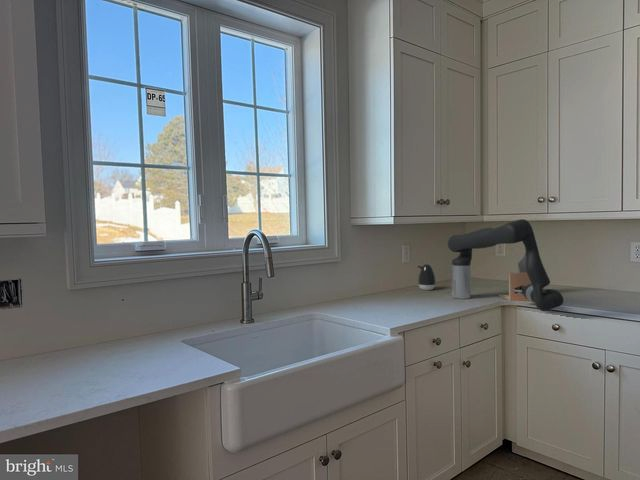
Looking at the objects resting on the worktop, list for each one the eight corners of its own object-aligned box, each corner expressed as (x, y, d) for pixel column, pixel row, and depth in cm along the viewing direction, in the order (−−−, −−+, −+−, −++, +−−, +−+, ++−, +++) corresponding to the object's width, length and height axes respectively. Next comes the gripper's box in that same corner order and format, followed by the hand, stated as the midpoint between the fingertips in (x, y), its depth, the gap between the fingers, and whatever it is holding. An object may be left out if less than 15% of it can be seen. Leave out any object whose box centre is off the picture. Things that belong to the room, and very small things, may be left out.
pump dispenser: (417, 288, 263) (416, 263, 262) (434, 288, 261) (434, 263, 261) (418, 291, 253) (418, 265, 252) (436, 291, 251) (436, 264, 251)
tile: (510, 300, 218) (510, 273, 217) (509, 300, 220) (509, 272, 219) (531, 300, 216) (531, 272, 216) (529, 300, 218) (529, 272, 218)
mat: (504, 299, 221) (504, 298, 221) (497, 295, 233) (497, 294, 233) (533, 299, 219) (533, 298, 219) (525, 295, 231) (525, 294, 231)
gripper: (550, 285, 196) (536, 279, 213) (519, 285, 198) (508, 280, 215) (550, 301, 197) (536, 295, 214) (519, 301, 198) (508, 295, 216)
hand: (522, 287), depth 214 cm, fingers closed
